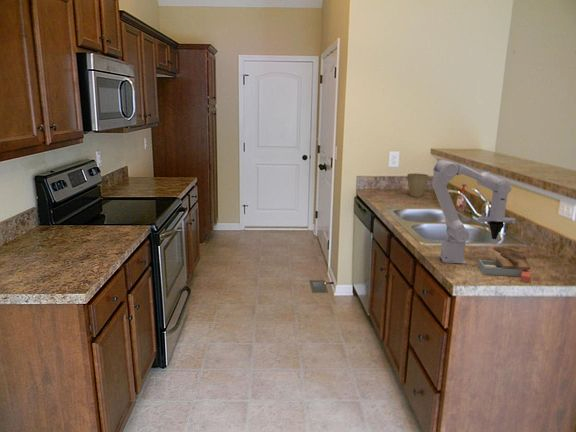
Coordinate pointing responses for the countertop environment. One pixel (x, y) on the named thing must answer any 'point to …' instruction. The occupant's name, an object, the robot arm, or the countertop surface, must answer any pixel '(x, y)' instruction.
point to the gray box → (497, 269)
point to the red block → (525, 275)
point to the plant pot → (417, 183)
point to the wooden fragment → (511, 253)
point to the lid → (512, 263)
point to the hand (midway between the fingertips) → (493, 238)
